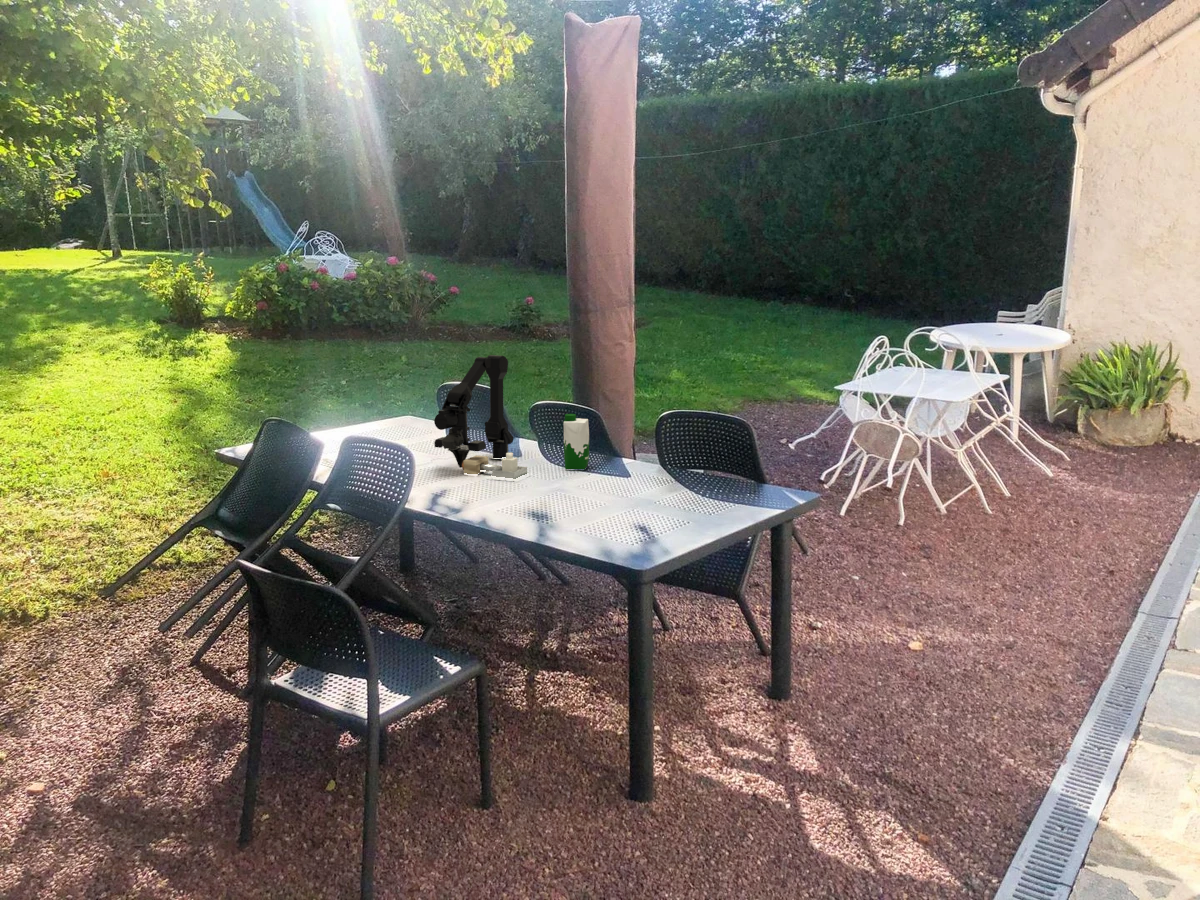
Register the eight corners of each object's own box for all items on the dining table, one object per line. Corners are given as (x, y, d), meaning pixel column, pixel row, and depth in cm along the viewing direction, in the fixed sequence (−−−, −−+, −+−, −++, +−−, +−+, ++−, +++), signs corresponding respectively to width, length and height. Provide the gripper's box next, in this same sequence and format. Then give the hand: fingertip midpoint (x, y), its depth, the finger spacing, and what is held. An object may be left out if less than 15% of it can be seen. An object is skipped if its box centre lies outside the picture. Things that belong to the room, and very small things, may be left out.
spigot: (507, 473, 339) (507, 451, 337) (517, 474, 338) (517, 452, 336) (502, 475, 336) (501, 453, 334) (512, 477, 334) (511, 454, 332)
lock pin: (468, 469, 346) (468, 458, 345) (503, 473, 340) (503, 461, 339) (462, 472, 342) (461, 460, 341) (497, 476, 336) (497, 464, 335)
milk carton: (566, 465, 354) (566, 412, 349) (590, 466, 352) (590, 412, 348) (562, 470, 345) (561, 416, 341) (586, 471, 344) (586, 417, 339)
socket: (504, 471, 344) (503, 463, 344) (533, 474, 339) (532, 466, 339) (486, 479, 334) (486, 470, 333) (516, 482, 329) (516, 474, 328)
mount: (476, 469, 347) (476, 455, 346) (488, 471, 345) (488, 456, 344) (463, 475, 340) (463, 460, 338) (475, 476, 338) (475, 461, 336)
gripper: (424, 427, 338) (426, 469, 341) (469, 431, 330) (470, 474, 334) (442, 421, 348) (444, 463, 351) (486, 425, 340) (487, 467, 344)
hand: (460, 467), depth 345 cm, fingers closed
